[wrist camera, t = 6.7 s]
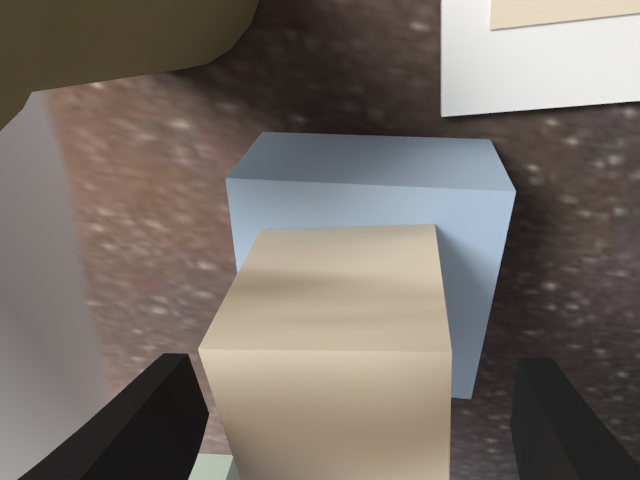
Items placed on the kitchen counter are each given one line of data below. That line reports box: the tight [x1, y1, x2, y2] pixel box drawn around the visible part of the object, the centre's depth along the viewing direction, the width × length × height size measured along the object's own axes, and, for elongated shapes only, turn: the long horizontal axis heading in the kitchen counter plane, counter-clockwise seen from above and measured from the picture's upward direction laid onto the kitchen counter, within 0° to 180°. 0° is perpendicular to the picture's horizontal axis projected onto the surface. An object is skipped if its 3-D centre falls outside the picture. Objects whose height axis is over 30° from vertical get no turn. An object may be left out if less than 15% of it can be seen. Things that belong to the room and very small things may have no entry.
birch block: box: [198, 224, 452, 480], centre depth 11 cm, size 4×4×4 cm
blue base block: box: [226, 132, 516, 399], centre depth 15 cm, size 7×7×4 cm
